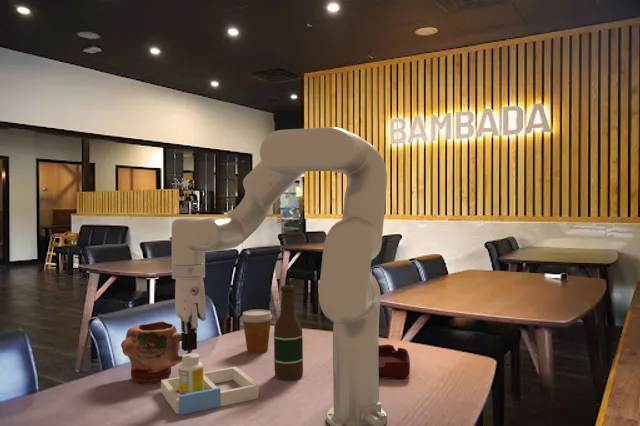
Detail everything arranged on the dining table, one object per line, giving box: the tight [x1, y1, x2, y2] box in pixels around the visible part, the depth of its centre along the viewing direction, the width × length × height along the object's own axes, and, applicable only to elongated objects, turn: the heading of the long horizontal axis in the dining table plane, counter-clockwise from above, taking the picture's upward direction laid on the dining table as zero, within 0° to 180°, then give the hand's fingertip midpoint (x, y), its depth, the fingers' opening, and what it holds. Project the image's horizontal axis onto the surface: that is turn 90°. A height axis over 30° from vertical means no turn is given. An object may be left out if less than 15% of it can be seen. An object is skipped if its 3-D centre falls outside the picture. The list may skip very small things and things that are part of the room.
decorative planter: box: [120, 321, 193, 385], centre depth 133 cm, size 20×12×14 cm, turn 86°
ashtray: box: [378, 344, 411, 380], centre depth 135 cm, size 18×16×5 cm
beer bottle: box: [273, 284, 304, 382], centre depth 133 cm, size 8×8×24 cm
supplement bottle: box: [178, 352, 204, 395], centre depth 118 cm, size 6×6×10 cm
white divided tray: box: [160, 366, 259, 416], centre depth 121 cm, size 16×19×4 cm
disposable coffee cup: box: [241, 309, 273, 355], centre depth 157 cm, size 10×10×12 cm
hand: (189, 349), depth 118 cm, fingers closed
